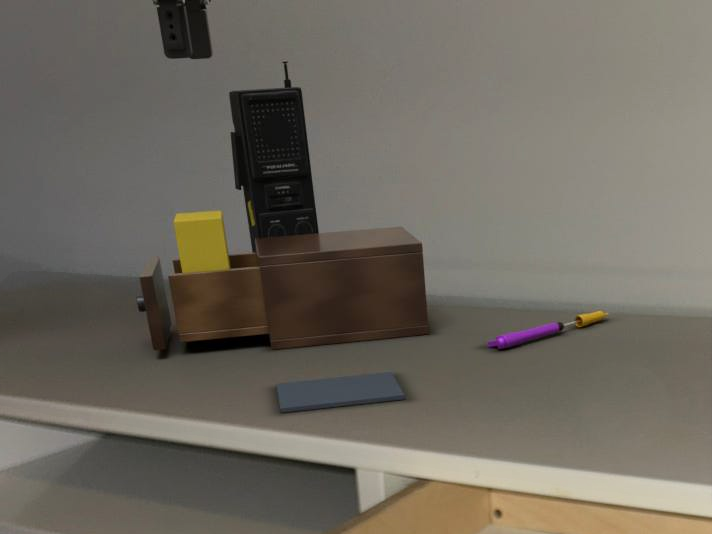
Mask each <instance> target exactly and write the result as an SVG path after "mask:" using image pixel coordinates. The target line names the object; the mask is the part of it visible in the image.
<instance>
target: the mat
mask: <svg viewBox="0 0 712 534" xmlns="http://www.w3.org/2000/svg"><path fill="white" fill-rule="evenodd" d="M275 386H276V391H277V399H278V403H279V410H280V413H282V414H283V413H292V412H303V411H310V410H312V411H313V410H321V409H329V408H339V407H348V406H349V407H350V406H357V405H366V404H376V403H384V402H394V401H404V400H406V396H405V393H404V391H403V389H402V388H401V386H400V384H399V382H398V381H397V379H396V378H395V376H394V374H393V372H392V371H384V372H374V373H364V374H356V375H355V374H354V375H347V376H337V377H336V376H335V377H326V378H318V379H308V380H297V381H289V382H278V383H276V384H275Z"/></svg>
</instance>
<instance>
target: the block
mask: <svg viewBox="0 0 712 534" xmlns="http://www.w3.org/2000/svg"><path fill="white" fill-rule="evenodd" d="M173 228H174V233H175V240H176V244H177V245H176V246H177V250H178V256H179V259H180V262H181V268H182V273H189V272H201V271H212V270H224V269H231V267H230V260H229V254H230V253H229V248H228V242H227V236H226V229H225V223H224V216H223V211H222V210H208V211H207V210H206V211H194V212H182V213H181V212H180V213H176V214H175V216H174V219H173Z"/></svg>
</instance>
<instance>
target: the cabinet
mask: <svg viewBox="0 0 712 534" xmlns="http://www.w3.org/2000/svg"><path fill="white" fill-rule="evenodd" d="M255 244H256V251H257V255H258V260H259V265H260V273H261V280H262V287H263V294H264V301H265V308H266V315H267V322H268V329H269V334H268V337H269V343H270V348H271V350H272V351H274V350H285V349H294V348H303V347H315V346H324V345H333V344H334V345H335V344H343V343H354V342H355V343H356V342H363V341H374V340H384V339H385V340H386V339H395V338H405V337H415V336H424V335H430V330H429V318H428V303H427V292H426V291H427V290H426V277H425V263H424V252H423V251H424V250H423V242H421V241H420V240H419V239H418V238H417V237H415V236H414V235H413V234H411V233H410V232H409V231H408V230H407V229H405V228H404V227H403V226H390V227H379V228H365V229H353V230H344V231H341V230H340V231H330V232H319V233H316V234H304V235H292V236H280V237H268V238H256V239H255Z"/></svg>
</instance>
